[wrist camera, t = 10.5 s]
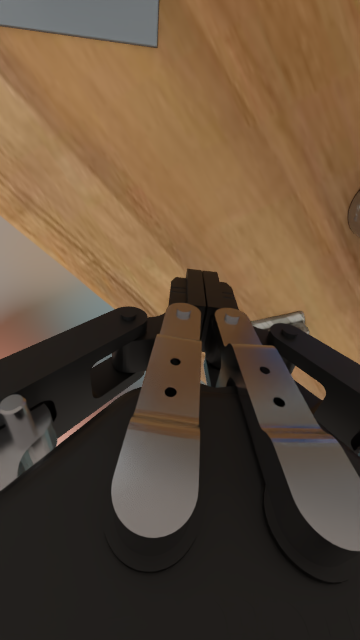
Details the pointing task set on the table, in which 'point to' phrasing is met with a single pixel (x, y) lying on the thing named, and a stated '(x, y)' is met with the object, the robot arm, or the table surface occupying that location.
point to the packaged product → (283, 321)
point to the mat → (86, 18)
